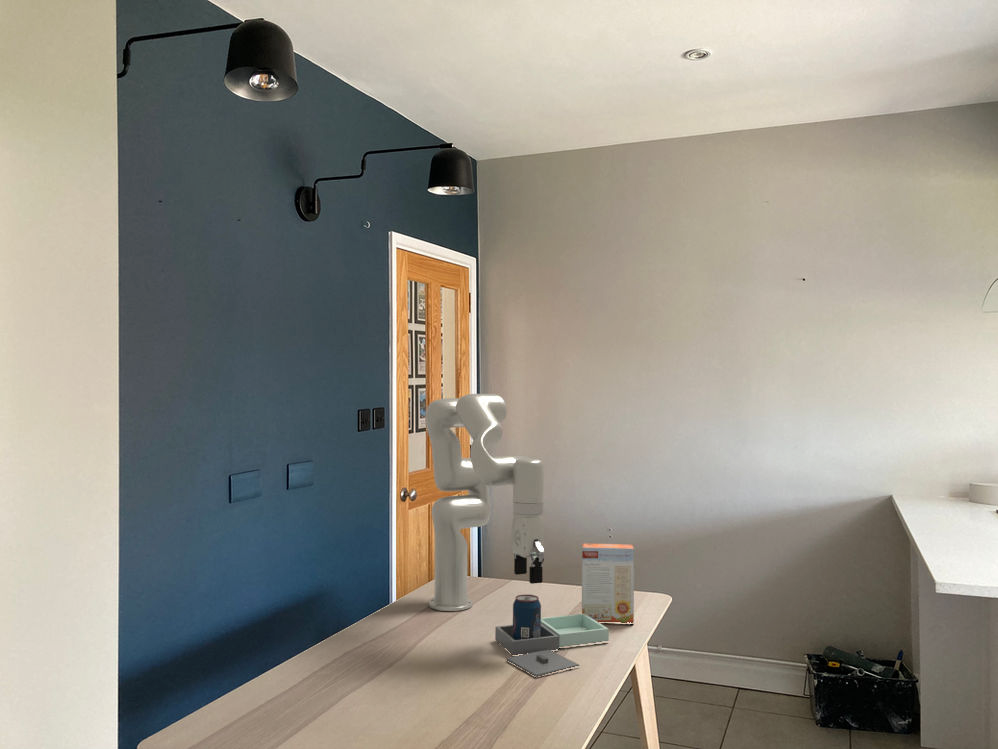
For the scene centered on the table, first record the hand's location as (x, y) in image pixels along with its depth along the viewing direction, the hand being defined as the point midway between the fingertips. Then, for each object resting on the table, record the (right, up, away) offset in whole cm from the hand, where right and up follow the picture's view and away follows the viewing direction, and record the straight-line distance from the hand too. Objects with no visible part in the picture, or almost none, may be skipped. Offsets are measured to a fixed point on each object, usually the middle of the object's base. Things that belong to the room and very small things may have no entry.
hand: (528, 578), depth 195 cm
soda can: (0, -17, 0) cm, 17 cm away
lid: (+3, -17, -12) cm, 21 cm away
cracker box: (+22, -17, +21) cm, 35 cm away
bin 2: (+12, -17, +7) cm, 22 cm away
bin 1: (0, -17, 0) cm, 17 cm away
